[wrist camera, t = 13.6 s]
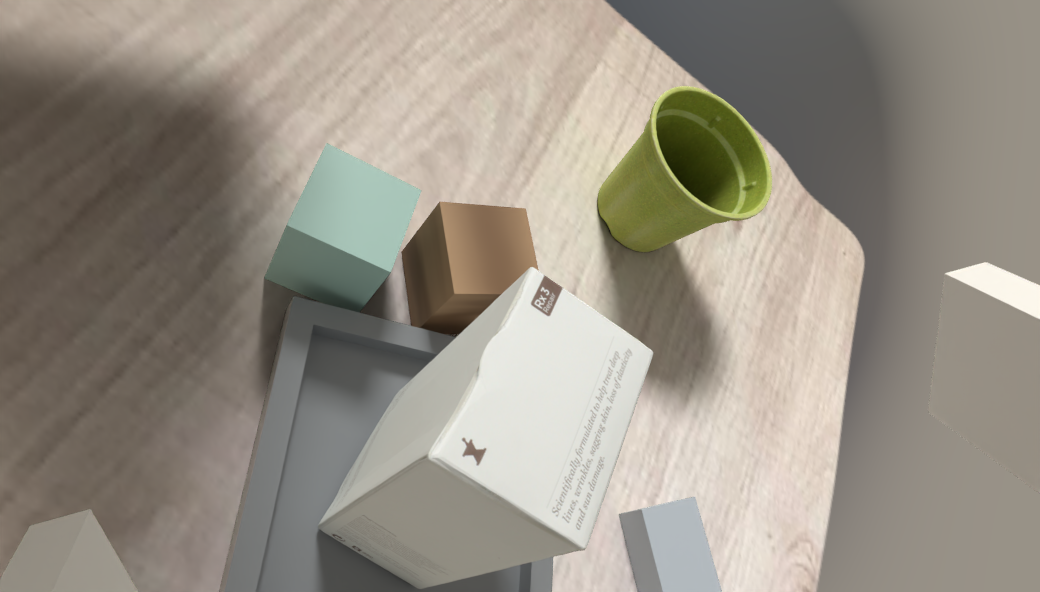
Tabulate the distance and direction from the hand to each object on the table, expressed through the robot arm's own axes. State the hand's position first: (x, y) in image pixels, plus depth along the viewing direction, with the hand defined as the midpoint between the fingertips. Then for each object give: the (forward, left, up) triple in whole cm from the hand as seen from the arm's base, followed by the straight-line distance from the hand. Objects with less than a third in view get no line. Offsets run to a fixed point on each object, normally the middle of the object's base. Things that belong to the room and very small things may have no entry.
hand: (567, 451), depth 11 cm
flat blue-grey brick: (+21, +1, -25) cm, 33 cm away
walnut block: (+6, +15, -25) cm, 30 cm away
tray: (+5, +4, -25) cm, 26 cm away
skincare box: (+5, +4, -24) cm, 25 cm away
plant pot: (+19, +25, -25) cm, 41 cm away
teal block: (-1, +15, -25) cm, 29 cm away
